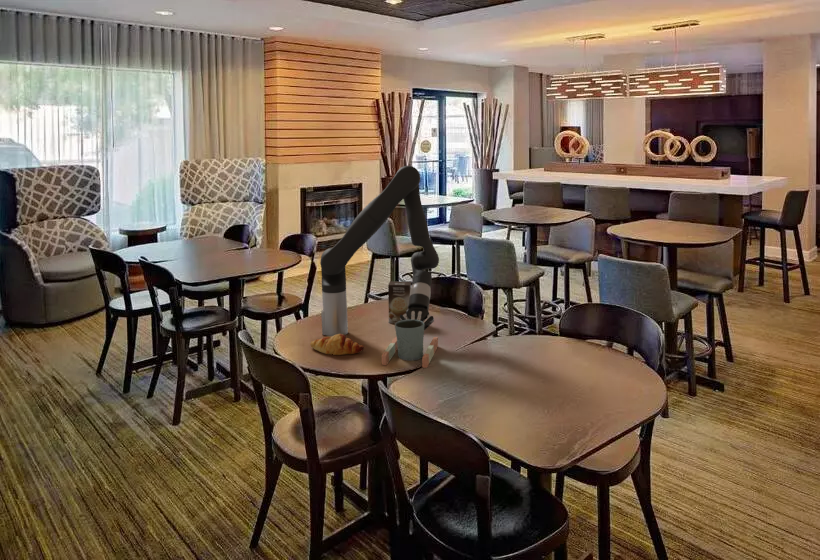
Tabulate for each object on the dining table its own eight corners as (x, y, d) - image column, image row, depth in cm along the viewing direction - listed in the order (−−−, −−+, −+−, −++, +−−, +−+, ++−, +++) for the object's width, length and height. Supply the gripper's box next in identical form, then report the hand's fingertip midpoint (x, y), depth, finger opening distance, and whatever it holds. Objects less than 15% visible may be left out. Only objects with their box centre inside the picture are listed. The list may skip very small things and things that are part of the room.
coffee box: (388, 323, 273) (387, 284, 270) (390, 318, 279) (389, 281, 276) (410, 323, 272) (409, 285, 269) (412, 319, 279) (411, 281, 275)
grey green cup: (429, 353, 237) (428, 320, 234) (418, 363, 228) (417, 329, 225) (402, 350, 240) (402, 318, 238) (390, 359, 231) (390, 326, 229)
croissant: (307, 360, 243) (301, 344, 238) (318, 340, 250) (312, 324, 245) (361, 364, 236) (356, 349, 231) (370, 344, 243) (365, 328, 238)
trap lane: (381, 365, 226) (381, 355, 225) (396, 344, 247) (396, 335, 246) (426, 367, 223) (426, 357, 222) (438, 346, 244) (437, 337, 243)
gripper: (400, 292, 245) (393, 334, 236) (436, 293, 242) (431, 336, 234) (403, 302, 251) (397, 344, 242) (438, 303, 249) (433, 345, 240)
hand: (413, 340), depth 238 cm, fingers closed
